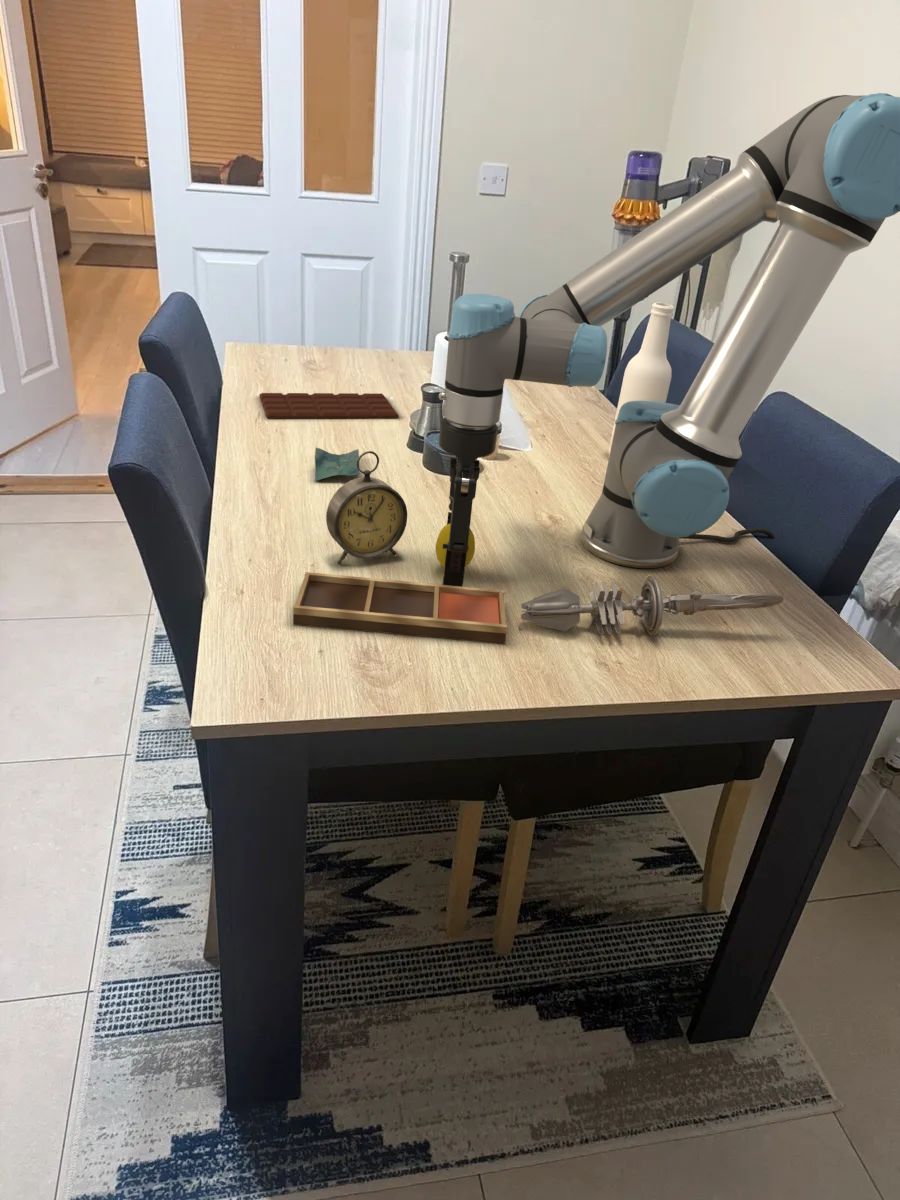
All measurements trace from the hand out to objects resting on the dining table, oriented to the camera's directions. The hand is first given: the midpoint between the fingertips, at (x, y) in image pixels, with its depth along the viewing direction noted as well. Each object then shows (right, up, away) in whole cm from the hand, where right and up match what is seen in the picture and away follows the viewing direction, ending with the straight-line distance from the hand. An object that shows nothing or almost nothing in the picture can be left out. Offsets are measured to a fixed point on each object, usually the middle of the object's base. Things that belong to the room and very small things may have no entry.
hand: (452, 570), depth 121 cm
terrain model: (-20, +19, +29) cm, 40 cm away
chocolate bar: (-26, +36, +57) cm, 72 cm away
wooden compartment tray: (-7, -6, -11) cm, 15 cm away
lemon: (0, 0, 0) cm, 0 cm away
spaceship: (+26, -8, -8) cm, 28 cm away
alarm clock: (-13, +2, +1) cm, 13 cm away
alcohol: (+36, +24, +48) cm, 64 cm away
